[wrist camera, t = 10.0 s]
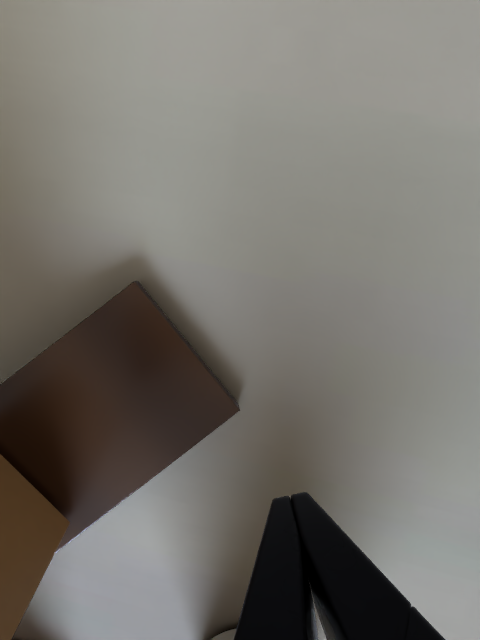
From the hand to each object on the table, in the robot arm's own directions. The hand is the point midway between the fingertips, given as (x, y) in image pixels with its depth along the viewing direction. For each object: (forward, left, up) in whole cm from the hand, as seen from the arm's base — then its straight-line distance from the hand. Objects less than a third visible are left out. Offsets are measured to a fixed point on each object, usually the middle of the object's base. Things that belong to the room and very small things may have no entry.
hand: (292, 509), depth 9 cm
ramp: (+3, +13, -12) cm, 18 cm away
